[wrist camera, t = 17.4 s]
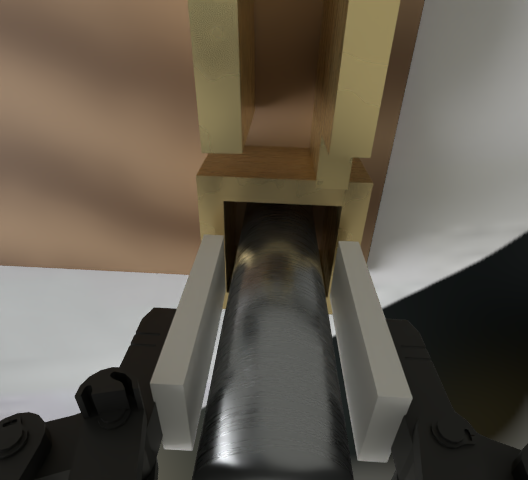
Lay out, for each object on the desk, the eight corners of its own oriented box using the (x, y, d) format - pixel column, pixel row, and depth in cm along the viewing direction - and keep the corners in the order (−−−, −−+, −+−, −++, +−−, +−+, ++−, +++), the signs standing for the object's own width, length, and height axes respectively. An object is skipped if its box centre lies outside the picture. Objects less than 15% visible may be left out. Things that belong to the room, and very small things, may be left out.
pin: (246, 178, 18) (183, 447, 7) (315, 181, 17) (370, 458, 6) (245, 236, 19) (196, 526, 8) (308, 240, 19) (342, 536, 8)
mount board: (-287, -422, 10) (-352, -473, 9) (502, -417, 10) (528, -469, 9) (3, 253, 22) (-11, 264, 21) (358, 271, 22) (362, 283, 21)
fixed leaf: (186, -433, 9) (46, -1095, 4) (450, -432, 9) (707, -1121, 4) (218, 259, 20) (196, 345, 15) (335, 265, 20) (354, 354, 15)
